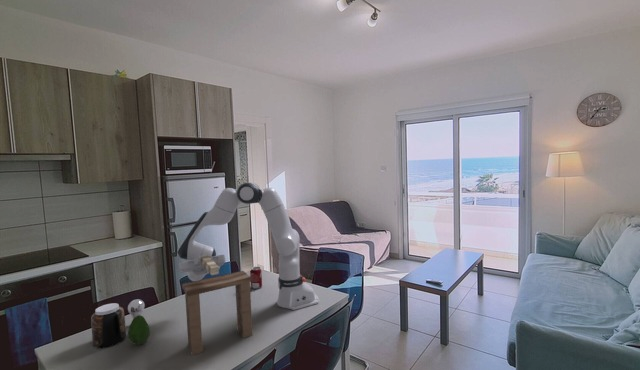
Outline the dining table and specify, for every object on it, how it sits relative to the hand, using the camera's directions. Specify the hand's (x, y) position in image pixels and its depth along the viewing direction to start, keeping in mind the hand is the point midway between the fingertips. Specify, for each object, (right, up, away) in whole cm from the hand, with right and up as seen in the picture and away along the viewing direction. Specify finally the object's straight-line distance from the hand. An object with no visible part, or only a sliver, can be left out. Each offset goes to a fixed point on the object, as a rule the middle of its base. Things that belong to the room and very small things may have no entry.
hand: (205, 258), depth 141 cm
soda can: (+13, -30, +51) cm, 60 cm away
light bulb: (-36, -34, +10) cm, 51 cm away
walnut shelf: (+8, -33, -5) cm, 35 cm away
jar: (-40, -35, -4) cm, 53 cm away
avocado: (-26, -35, -6) cm, 44 cm away
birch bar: (+4, -2, -6) cm, 8 cm away
